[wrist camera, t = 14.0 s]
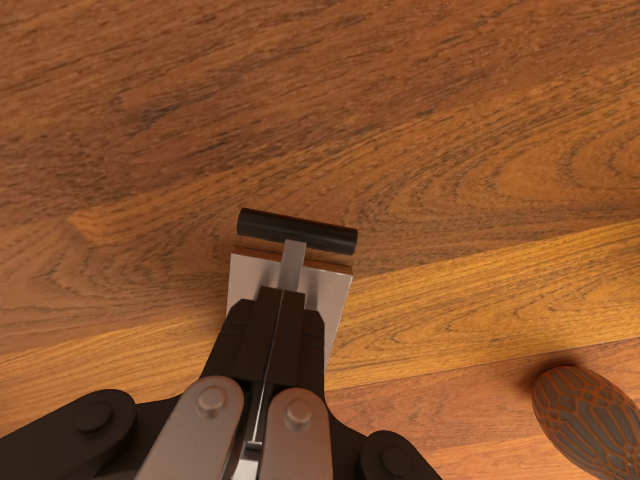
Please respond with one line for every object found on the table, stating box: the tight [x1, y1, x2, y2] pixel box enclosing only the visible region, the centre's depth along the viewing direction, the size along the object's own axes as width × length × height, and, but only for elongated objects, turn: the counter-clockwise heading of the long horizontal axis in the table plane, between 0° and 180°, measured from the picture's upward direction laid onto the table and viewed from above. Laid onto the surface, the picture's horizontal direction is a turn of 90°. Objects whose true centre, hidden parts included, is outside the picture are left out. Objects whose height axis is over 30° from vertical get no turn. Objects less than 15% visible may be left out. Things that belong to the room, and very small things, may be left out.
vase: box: [532, 366, 640, 480], centre depth 24 cm, size 7×7×9 cm
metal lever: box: [233, 208, 358, 480], centre depth 15 cm, size 14×6×2 cm, turn 169°
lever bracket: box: [226, 246, 353, 375], centre depth 19 cm, size 11×9×14 cm
